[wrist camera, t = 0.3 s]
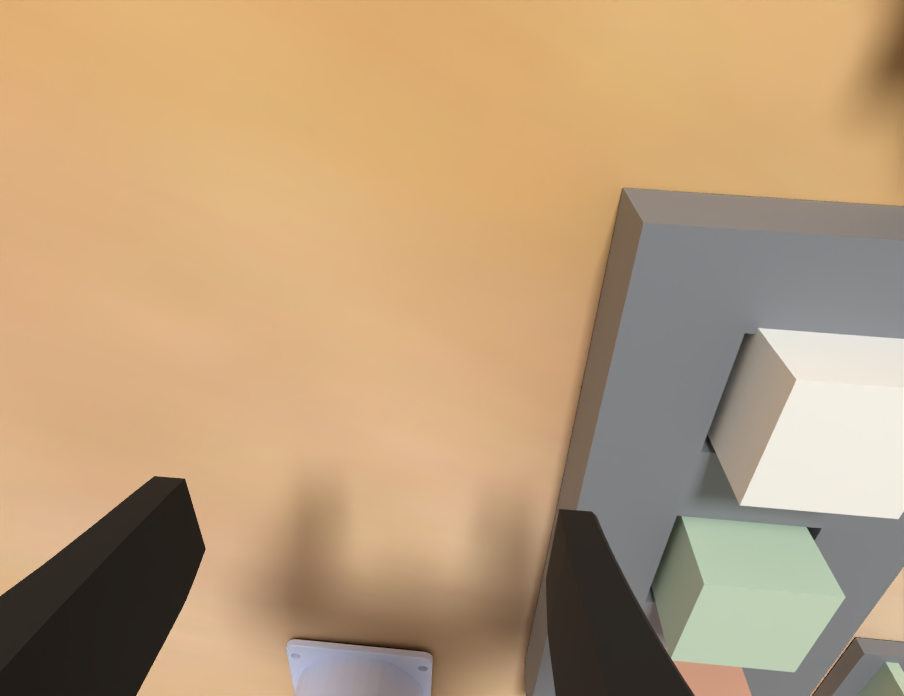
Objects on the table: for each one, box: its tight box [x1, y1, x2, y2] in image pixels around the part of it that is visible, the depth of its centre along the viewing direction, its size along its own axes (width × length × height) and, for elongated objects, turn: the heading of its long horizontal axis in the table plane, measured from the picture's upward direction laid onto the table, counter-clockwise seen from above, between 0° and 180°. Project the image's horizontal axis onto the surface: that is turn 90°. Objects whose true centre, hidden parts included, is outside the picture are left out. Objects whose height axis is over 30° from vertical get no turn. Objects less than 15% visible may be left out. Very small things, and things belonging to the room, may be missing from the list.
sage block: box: [651, 516, 845, 672], centre depth 21 cm, size 4×4×4 cm
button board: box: [525, 188, 904, 696], centre depth 23 cm, size 26×12×3 cm, turn 177°
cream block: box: [707, 328, 904, 519], centre depth 17 cm, size 4×4×4 cm
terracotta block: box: [665, 648, 752, 696], centre depth 25 cm, size 4×4×4 cm
